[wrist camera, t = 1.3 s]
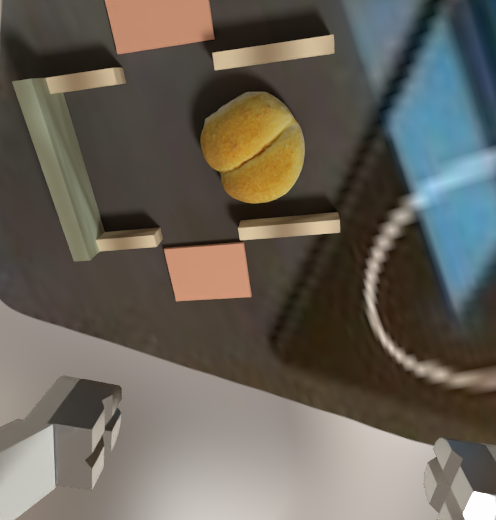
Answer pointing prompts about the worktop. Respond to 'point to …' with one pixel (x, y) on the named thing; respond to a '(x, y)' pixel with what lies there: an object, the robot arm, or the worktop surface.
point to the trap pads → (164, 35)
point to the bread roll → (254, 147)
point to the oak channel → (74, 171)
